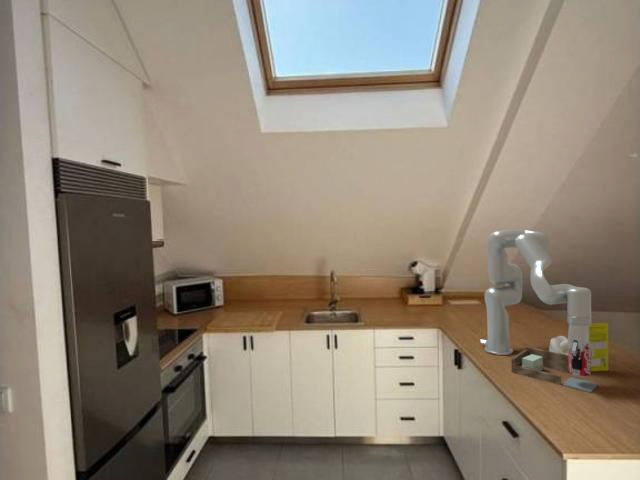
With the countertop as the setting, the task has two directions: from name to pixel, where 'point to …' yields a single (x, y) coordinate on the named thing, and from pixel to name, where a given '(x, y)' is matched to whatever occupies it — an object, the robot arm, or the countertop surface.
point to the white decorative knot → (559, 345)
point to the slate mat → (580, 384)
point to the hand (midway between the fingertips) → (579, 366)
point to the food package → (599, 346)
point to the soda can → (585, 363)
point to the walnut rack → (549, 361)
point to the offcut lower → (535, 367)
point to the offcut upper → (532, 361)
